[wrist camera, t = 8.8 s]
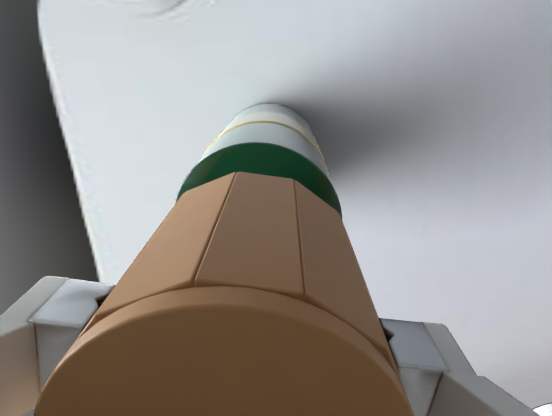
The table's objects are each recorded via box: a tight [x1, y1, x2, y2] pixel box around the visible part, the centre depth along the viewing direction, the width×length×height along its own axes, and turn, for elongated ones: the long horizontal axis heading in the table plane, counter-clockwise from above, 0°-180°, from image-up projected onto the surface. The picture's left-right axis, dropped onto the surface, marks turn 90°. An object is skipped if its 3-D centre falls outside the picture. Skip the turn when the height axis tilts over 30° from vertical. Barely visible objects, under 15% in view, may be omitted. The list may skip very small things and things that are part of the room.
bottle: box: [174, 103, 342, 219], centre depth 18 cm, size 6×6×17 cm
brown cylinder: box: [34, 172, 414, 416], centre depth 9 cm, size 6×6×6 cm
